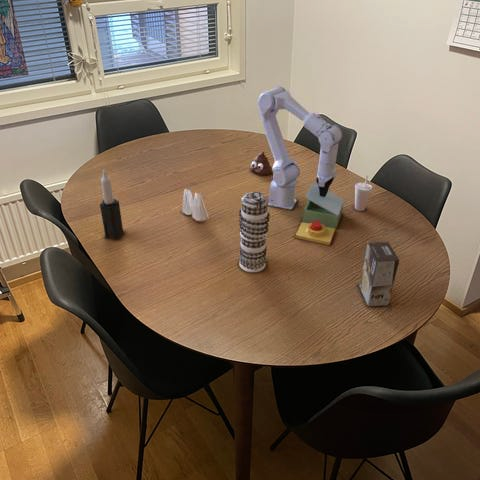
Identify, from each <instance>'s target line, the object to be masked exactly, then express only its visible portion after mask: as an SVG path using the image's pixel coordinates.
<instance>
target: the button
mask: <svg viewBox="0 0 480 480" xmlns="http://www.w3.org/2000/svg"><path fill="white" fill-rule="evenodd" d="M321 227H322V223H321V222H318V221H313V222H312V223H311V229H312V230H314V231H320V230H321Z"/></svg>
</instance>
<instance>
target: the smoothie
mask: <svg viewBox="0 0 480 480" xmlns="http://www.w3.org/2000/svg"><path fill="white" fill-rule="evenodd" d="M368 177H369V176H368V175H366V176H365V181H364V182H357V183H355V185H354V210H356V211H358V212H363V211H365V209H366V206H367V203H368V200H369V198H370V194H371V192H372V191H373V186H372V185H371V184H369V183H367V182H368Z"/></svg>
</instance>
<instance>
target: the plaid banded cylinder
mask: <svg viewBox="0 0 480 480" xmlns="http://www.w3.org/2000/svg"><path fill="white" fill-rule="evenodd" d="M240 203H241V209H239V210H238V218H239V220H238V222H239V224H238V225H239V235H240V237H241V239H240V244H239V255H238V257H239V259H238V261H239V267H240V268H241V270H244V271H245V272H247V273H259V272H261V271H263V270H265V268H266V266H267V265H266V262H267V261H266V260H267V248H268V246H267V241H266V240H267V236H268V232H269V222H270V217H271V215H270V214H271V213H270V212H269V209H268V207H269V205H268V204H269V197H266V196H265V195H264V194H263V193H262V192H260V191H250V192H247V193H246V194H245V195H244V196H242V197H241V199H240Z"/></svg>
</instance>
